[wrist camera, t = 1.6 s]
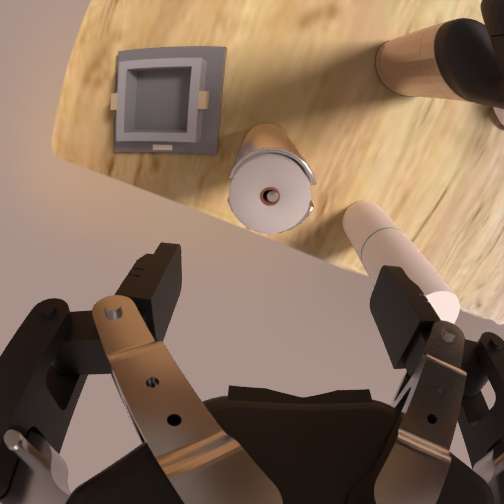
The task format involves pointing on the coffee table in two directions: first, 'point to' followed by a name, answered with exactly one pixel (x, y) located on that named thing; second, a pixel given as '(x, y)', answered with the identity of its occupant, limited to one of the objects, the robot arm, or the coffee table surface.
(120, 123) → the socket
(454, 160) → the coffee table surface
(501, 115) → the flower in vase
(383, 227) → the cylindrical container
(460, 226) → the coffee table surface
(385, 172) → the coffee table surface
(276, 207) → the silver metal cylinder
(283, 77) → the coffee table surface
